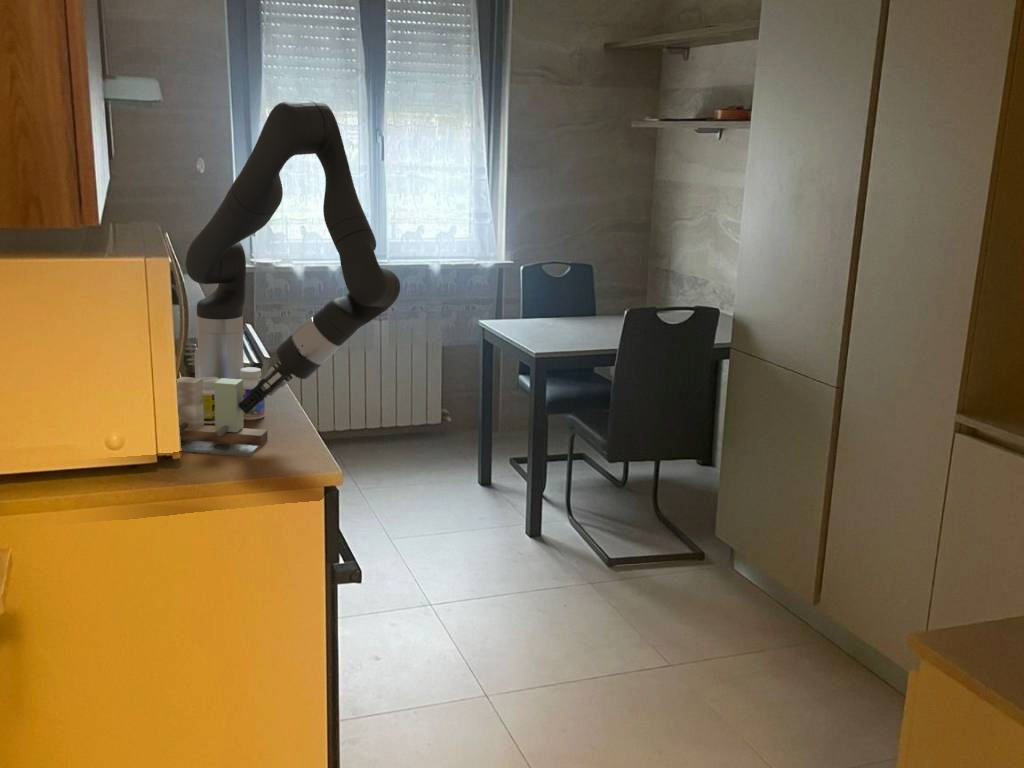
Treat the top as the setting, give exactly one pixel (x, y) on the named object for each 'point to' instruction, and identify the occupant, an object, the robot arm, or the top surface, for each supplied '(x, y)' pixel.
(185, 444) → the hole plate
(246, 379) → the pill bottle
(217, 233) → the robot arm
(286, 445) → the top surface
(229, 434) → the rail
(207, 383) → the supplement bottle
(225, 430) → the slide leg
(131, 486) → the top surface
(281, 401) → the top surface
